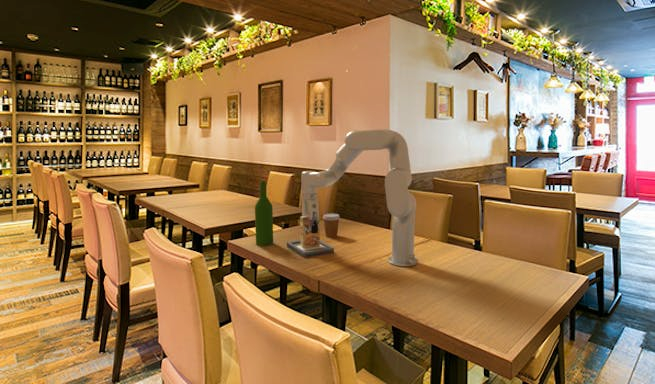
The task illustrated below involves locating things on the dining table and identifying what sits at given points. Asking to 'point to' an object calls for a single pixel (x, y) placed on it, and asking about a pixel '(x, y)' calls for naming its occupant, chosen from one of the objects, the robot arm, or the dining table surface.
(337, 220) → the disposable coffee cup
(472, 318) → the dining table surface
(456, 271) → the dining table surface
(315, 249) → the gray tray
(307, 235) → the candy box
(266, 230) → the wine bottle
